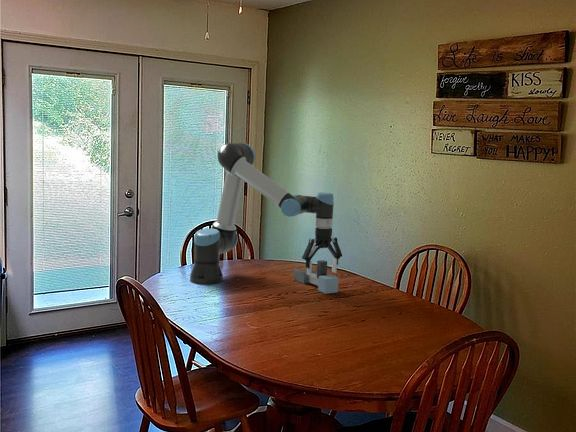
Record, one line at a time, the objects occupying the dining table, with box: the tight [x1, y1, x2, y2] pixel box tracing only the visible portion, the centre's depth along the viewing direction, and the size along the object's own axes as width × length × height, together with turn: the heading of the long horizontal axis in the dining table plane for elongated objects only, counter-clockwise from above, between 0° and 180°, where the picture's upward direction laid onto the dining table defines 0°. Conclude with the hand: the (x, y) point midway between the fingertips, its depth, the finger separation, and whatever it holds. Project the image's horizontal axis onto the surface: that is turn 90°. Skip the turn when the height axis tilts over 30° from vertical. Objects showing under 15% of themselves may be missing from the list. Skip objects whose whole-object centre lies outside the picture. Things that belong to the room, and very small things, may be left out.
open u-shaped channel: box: [293, 266, 317, 285], centre depth 280 cm, size 9×7×5 cm
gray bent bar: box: [306, 259, 328, 287], centre depth 270 cm, size 16×3×11 cm, turn 30°
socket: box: [317, 274, 339, 295], centre depth 263 cm, size 6×7×7 cm
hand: (321, 273), depth 268 cm, fingers open, 13 cm apart
